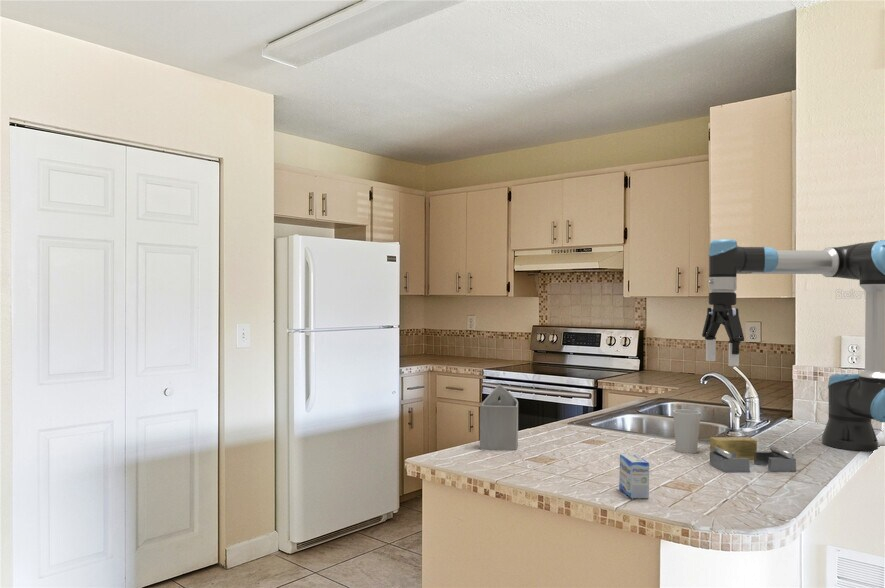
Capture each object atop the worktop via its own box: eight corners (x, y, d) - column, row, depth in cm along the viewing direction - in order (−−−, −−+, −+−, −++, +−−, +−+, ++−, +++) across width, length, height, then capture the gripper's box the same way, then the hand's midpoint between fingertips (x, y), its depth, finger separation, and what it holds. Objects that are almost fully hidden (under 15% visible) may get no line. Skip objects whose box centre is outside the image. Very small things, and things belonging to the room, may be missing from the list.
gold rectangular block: (749, 457, 188) (749, 437, 188) (756, 460, 184) (756, 440, 184) (710, 457, 187) (710, 437, 187) (716, 461, 183) (716, 440, 183)
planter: (496, 454, 189) (497, 389, 189) (479, 449, 195) (479, 386, 195) (534, 446, 199) (534, 385, 199) (516, 442, 205) (516, 382, 205)
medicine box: (618, 489, 155) (618, 453, 155) (636, 488, 155) (636, 453, 155) (631, 499, 147) (631, 462, 147) (649, 499, 147) (649, 461, 147)
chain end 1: (733, 463, 180) (733, 445, 180) (749, 472, 171) (749, 453, 171) (709, 463, 179) (709, 445, 179) (724, 472, 171) (724, 453, 171)
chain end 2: (777, 463, 180) (777, 445, 180) (795, 471, 172) (796, 452, 172) (753, 463, 180) (753, 445, 180) (771, 471, 171) (771, 453, 171)
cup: (702, 454, 190) (703, 414, 190) (674, 452, 192) (675, 413, 192) (697, 448, 198) (697, 409, 198) (670, 446, 200) (671, 408, 200)
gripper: (691, 291, 199) (690, 359, 199) (731, 291, 175) (731, 368, 174) (714, 292, 200) (713, 359, 200) (758, 291, 175) (757, 368, 175)
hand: (721, 363), depth 187 cm, fingers open, 13 cm apart
